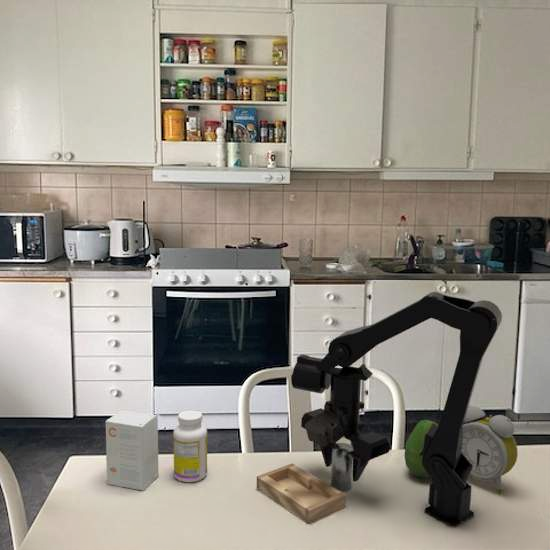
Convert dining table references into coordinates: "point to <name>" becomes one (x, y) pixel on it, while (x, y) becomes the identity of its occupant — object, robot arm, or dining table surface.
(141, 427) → the small box
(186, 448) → the supplement bottle
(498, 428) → the alarm clock
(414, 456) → the avocado
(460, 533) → the dining table surface
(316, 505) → the light brown wooden tray
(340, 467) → the grey metal peg
